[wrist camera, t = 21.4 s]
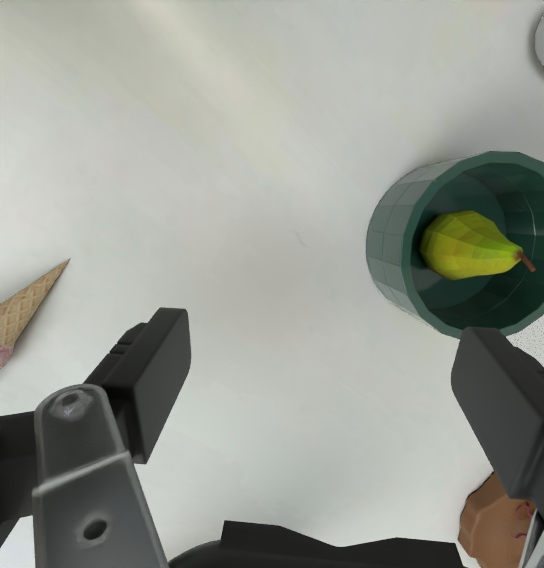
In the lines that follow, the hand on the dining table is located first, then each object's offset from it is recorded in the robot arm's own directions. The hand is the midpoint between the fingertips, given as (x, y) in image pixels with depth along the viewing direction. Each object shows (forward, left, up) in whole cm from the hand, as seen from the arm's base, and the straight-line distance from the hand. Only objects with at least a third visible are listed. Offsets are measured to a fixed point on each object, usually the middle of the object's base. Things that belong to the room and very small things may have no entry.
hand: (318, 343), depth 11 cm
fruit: (+9, +14, -24) cm, 29 cm away
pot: (+9, +15, -24) cm, 30 cm away
